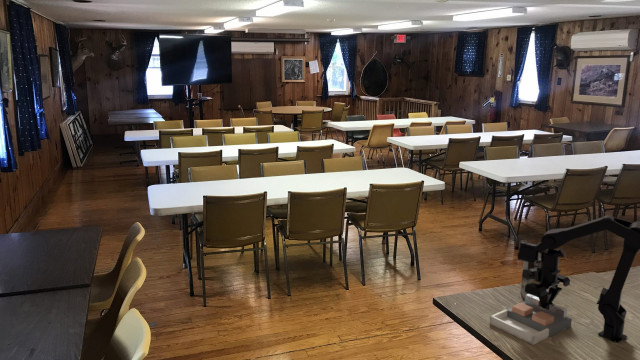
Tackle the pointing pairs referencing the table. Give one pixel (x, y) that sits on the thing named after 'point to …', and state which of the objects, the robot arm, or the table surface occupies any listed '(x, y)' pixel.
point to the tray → (518, 328)
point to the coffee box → (524, 282)
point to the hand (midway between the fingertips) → (545, 307)
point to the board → (553, 327)
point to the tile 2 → (543, 318)
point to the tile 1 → (522, 309)
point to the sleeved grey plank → (549, 308)
